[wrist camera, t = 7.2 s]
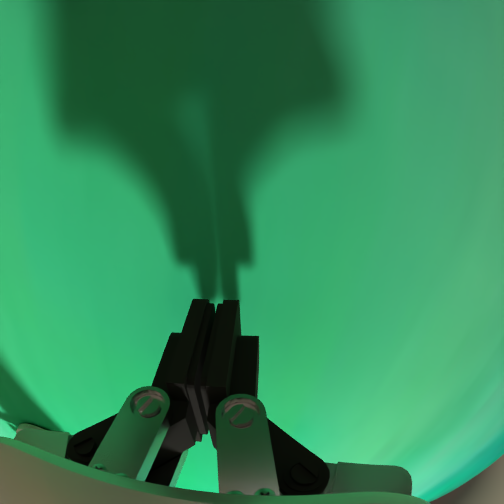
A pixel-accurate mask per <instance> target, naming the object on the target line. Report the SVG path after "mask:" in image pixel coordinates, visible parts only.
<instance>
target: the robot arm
mask: <svg viewBox="0 0 504 504" xmlns="http://www.w3.org/2000/svg"><path fill="white" fill-rule="evenodd" d="M258 373H259V336H241V324H240V305H239V300H224V301H223V304H218V305H217V309H216V313H215V306H214V303H209V300H208V299H193V300H192V303H191V306H190V309H189V312H188V315H187V318H186V321H185V323H184V326H183V329H182V332H181V333H173V332H172V333H171V334H170V336H169V339H168V342H167V344H166V347H165V350H164V352H163V355H162V358H161V361H160V364H159V366H158V369H157V372H156V375H155V378H154V380H153V383H152V386H146V387H141V388H138V389H136V390H135V391H133V392H132V393H131V394H130V395H129V396H128V397H127V399H126V401H125V402H124V404H123V406H122V408H121V409H120V411H119V413H117V414H115V415H113V416H111V417H109V418H107V419H105V420H103V421H101V422H99V423H97V424H95V425H93V426H91V427H88V428H86V429H84V430H82V431H80V432H78V433H76V434H75V435H71V434H70V433H69V432H58V431H48V430H45V429H42V428H40V427H37V426H34V425H31V424H27V423H26V424H20V425H19V426H18V428H17V430H16V436H15V438H14V439H11V438H7V437H0V504H430V503H429V502H427V501H425V500H423V499H421V498H417V497H414V496H411V492H412V480H411V476H410V474H409V473H408V471H407V470H405V469H404V468H402V467H399V466H389V465H369V464H355V463H345V462H338V463H337V464H333V463H325V462H324V461H323V460H322V459H320V458H319V457H318V456H316V455H315V454H313V453H312V452H311V451H309V450H308V449H307V448H305V447H304V446H303V445H301V444H300V443H299V442H297V441H296V440H295V439H293V438H292V437H291V436H289V435H288V434H287V433H285V432H284V431H283V430H282V429H280V428H279V427H278V426H277V425H275V424H274V423H273V422H272V421H270V420H269V419H268V418H267V415H266V410H265V407H264V405H263V403H262V402H261V401H260V400H259V399H257V393H258ZM208 431H210V435H211V439H212V443H213V446H214V448H215V449H216V450H217V462H218V481H219V493H213V492H204V491H196V490H189V489H182V488H175V485H176V483H177V480H178V478H179V475H180V473H181V470H182V467H183V465H184V462H185V460H186V457H187V454H188V449H189V448H190V447H192V446H194V445H195V442H196V441H199V442H201V441H202V435H203V434H208Z"/></svg>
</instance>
